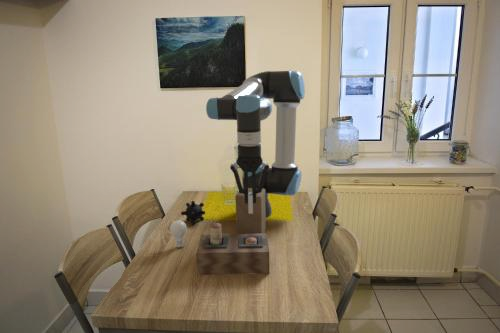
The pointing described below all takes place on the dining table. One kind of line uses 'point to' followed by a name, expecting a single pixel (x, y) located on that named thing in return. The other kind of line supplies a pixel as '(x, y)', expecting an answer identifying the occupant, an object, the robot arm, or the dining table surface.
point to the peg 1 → (215, 234)
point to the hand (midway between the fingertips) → (250, 211)
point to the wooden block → (251, 221)
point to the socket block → (233, 255)
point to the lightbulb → (178, 232)
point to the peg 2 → (250, 240)
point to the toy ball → (194, 212)
